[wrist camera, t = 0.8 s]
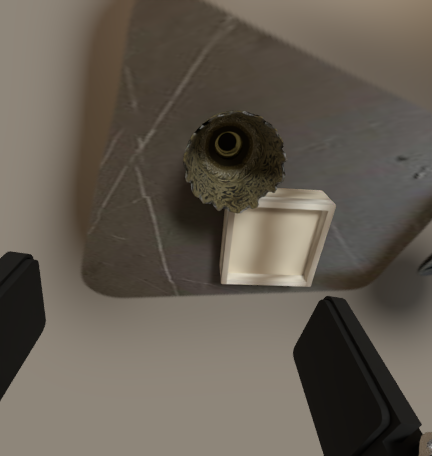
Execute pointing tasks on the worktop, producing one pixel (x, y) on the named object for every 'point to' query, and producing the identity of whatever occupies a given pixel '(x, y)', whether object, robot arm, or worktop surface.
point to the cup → (234, 161)
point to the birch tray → (276, 239)
